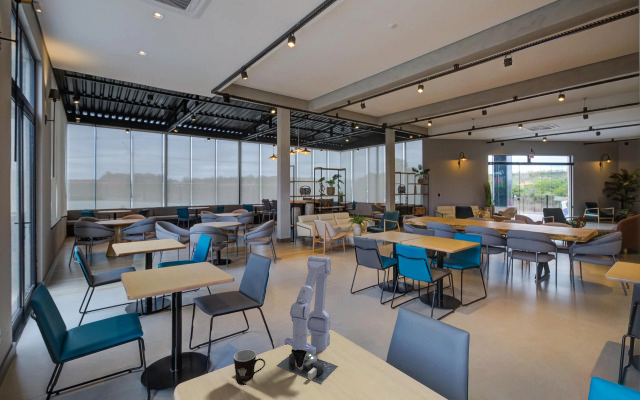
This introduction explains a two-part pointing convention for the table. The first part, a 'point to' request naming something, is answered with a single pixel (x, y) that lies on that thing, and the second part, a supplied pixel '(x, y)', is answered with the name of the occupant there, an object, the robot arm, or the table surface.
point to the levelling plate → (305, 372)
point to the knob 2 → (315, 370)
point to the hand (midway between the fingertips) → (299, 366)
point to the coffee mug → (245, 365)
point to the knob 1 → (293, 361)
